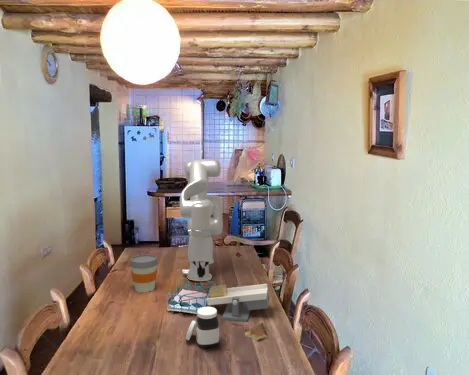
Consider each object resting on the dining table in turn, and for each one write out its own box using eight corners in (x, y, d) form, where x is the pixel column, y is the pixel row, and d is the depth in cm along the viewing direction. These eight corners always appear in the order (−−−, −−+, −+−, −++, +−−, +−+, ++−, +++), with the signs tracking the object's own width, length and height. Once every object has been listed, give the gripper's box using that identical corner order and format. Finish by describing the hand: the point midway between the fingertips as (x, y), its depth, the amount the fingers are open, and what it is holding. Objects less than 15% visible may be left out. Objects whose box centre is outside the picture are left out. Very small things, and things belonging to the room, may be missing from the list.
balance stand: (222, 319, 155) (222, 299, 154) (229, 301, 172) (229, 283, 171) (247, 321, 154) (247, 300, 153) (252, 303, 171) (252, 284, 169)
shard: (261, 325, 151) (262, 321, 151) (278, 332, 146) (278, 327, 146) (243, 336, 143) (243, 331, 143) (260, 344, 138) (260, 339, 138)
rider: (210, 300, 161) (208, 291, 161) (213, 295, 167) (211, 286, 166) (224, 298, 160) (223, 289, 160) (227, 293, 166) (225, 284, 165)
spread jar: (221, 347, 135) (221, 315, 133) (188, 353, 132) (188, 320, 130) (213, 331, 146) (213, 301, 145) (183, 335, 143) (182, 305, 142)
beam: (209, 314, 160) (206, 299, 159) (214, 304, 170) (211, 289, 169) (267, 308, 156) (265, 293, 155) (269, 298, 165) (267, 283, 165)
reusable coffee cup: (130, 295, 179) (129, 263, 177) (131, 285, 191) (130, 255, 189) (158, 293, 181) (157, 261, 179) (158, 283, 193) (157, 253, 191)
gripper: (180, 234, 158) (181, 278, 160) (216, 235, 156) (217, 280, 158) (185, 230, 166) (186, 272, 168) (220, 231, 163) (220, 274, 165)
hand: (201, 276), depth 163 cm, fingers closed
